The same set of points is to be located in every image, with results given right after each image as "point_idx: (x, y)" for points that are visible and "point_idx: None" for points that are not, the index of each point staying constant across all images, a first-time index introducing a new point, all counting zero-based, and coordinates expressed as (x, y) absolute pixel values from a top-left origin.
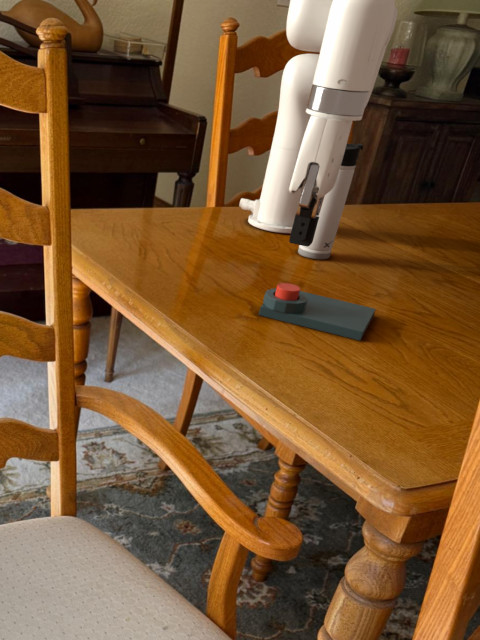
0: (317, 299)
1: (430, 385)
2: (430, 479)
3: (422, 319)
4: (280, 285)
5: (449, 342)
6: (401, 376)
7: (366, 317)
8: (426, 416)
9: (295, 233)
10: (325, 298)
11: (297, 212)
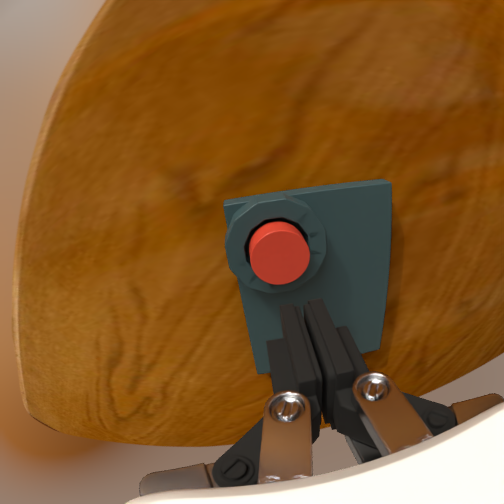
0: (364, 273)
1: (191, 429)
2: (53, 426)
3: (402, 373)
4: (274, 239)
5: None
6: (185, 412)
7: None
8: (124, 430)
9: (268, 348)
10: (379, 280)
11: (265, 411)
